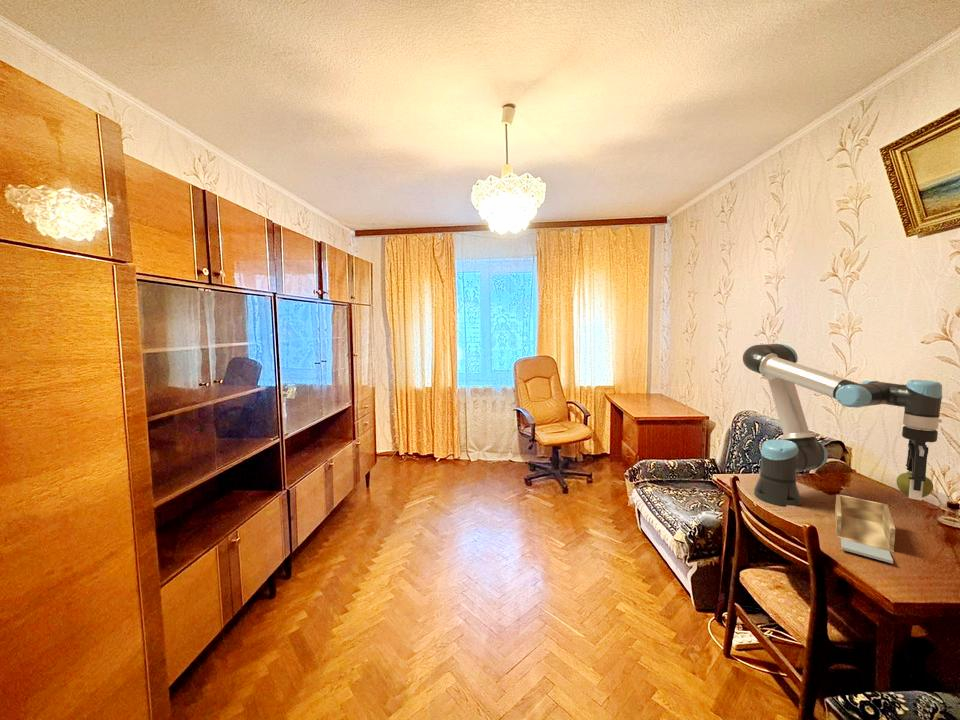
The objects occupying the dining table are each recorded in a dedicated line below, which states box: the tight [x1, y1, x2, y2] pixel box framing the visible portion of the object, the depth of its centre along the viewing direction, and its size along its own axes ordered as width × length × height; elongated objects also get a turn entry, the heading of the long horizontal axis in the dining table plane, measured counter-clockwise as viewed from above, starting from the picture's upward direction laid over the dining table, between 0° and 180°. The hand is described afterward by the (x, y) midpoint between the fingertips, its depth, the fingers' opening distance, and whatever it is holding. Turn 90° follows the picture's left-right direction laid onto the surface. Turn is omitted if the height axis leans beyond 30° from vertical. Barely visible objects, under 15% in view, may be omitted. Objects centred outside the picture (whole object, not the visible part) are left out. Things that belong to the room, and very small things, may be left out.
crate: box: [834, 493, 896, 553], centre depth 129 cm, size 13×22×8 cm, turn 138°
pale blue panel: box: [840, 538, 894, 565], centre depth 117 cm, size 11×1×9 cm
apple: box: [896, 472, 934, 498], centre depth 126 cm, size 8×8×7 cm
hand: (912, 494), depth 126 cm, fingers closed on apple, 7 cm apart
